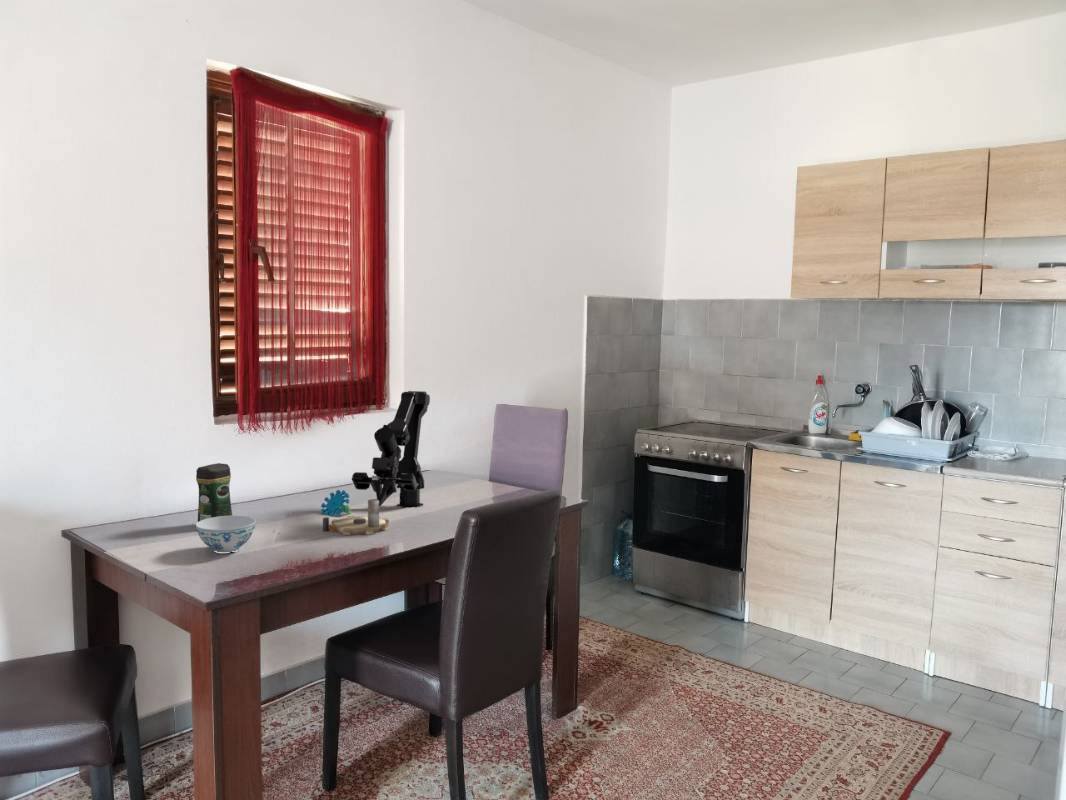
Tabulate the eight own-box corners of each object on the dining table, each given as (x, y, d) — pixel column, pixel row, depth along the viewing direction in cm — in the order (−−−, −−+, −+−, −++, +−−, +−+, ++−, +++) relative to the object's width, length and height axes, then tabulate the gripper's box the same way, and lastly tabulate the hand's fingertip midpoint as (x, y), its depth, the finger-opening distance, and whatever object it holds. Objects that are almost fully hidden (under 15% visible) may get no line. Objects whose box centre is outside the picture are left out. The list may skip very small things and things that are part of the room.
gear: (313, 509, 258) (333, 484, 262) (323, 519, 262) (343, 495, 266) (335, 519, 251) (355, 494, 256) (345, 530, 256) (364, 505, 260)
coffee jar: (217, 520, 249) (216, 460, 247) (237, 523, 246) (235, 463, 244) (192, 527, 240) (190, 465, 239) (212, 530, 237) (210, 468, 235)
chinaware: (237, 539, 228) (236, 512, 228) (267, 550, 219) (266, 521, 218) (185, 551, 217) (185, 522, 216) (215, 562, 207) (214, 532, 207)
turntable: (318, 528, 240) (318, 498, 239) (362, 517, 253) (362, 489, 252) (357, 538, 230) (356, 506, 229) (400, 526, 243) (400, 496, 242)
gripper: (353, 445, 243) (340, 489, 233) (413, 446, 241) (404, 491, 231) (362, 467, 252) (350, 510, 242) (421, 468, 249) (411, 512, 240)
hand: (378, 505), depth 238 cm, fingers closed
